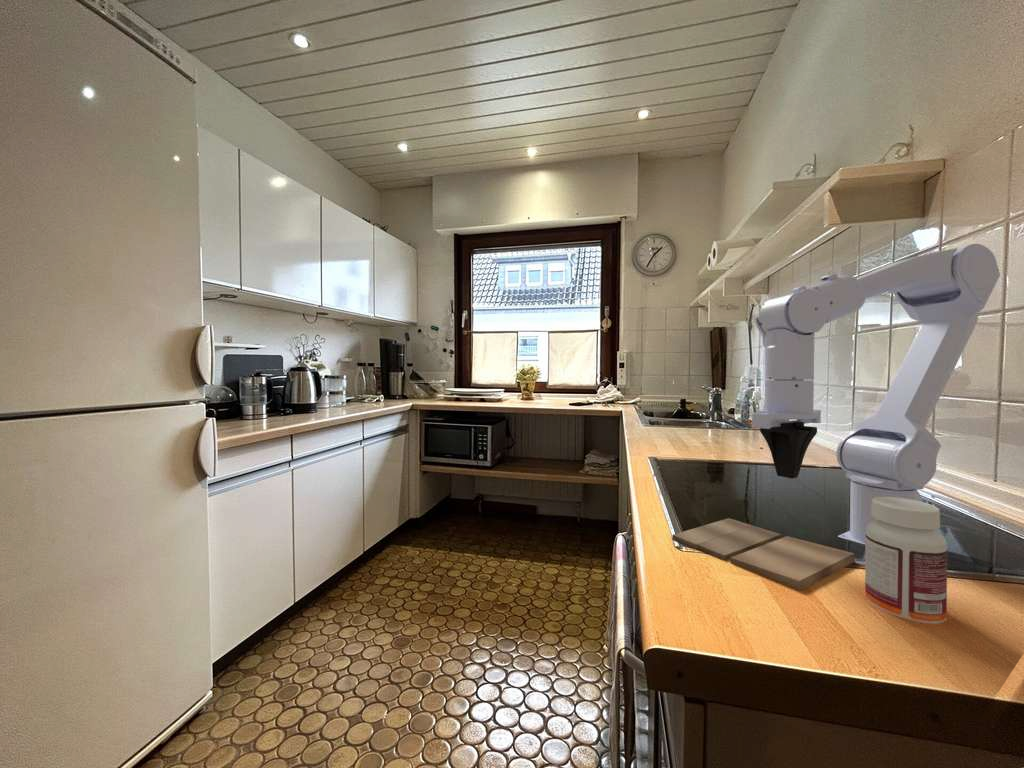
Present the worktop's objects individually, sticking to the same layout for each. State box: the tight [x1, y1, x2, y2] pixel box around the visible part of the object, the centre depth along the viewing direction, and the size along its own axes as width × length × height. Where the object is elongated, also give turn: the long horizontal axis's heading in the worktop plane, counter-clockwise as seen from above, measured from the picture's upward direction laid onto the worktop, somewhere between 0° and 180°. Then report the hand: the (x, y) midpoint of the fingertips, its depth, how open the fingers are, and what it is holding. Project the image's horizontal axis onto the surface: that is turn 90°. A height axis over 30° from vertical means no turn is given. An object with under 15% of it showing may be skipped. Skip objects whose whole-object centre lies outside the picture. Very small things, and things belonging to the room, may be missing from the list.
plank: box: [729, 535, 855, 592], centre depth 52 cm, size 14×8×1 cm, turn 120°
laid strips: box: [671, 517, 782, 561], centre depth 60 cm, size 14×9×1 cm, turn 120°
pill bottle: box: [864, 497, 949, 624], centre depth 42 cm, size 6×6×11 cm
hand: (787, 476), depth 57 cm, fingers closed
